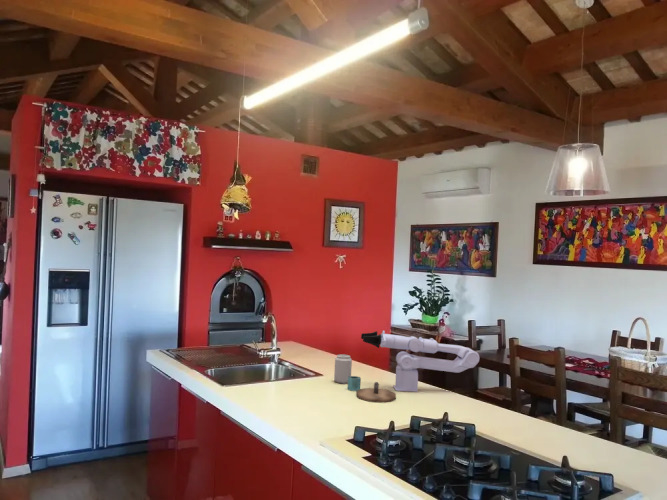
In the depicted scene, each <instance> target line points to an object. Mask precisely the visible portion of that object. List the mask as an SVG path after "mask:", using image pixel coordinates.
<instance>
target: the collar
mask: <svg viewBox="0 0 667 500" xmlns="http://www.w3.org/2000/svg"><path fill="white" fill-rule="evenodd" d="M361 381H362V378H361V376H357V375H351V376H349V377H348V383H347V390H348V391H351V392H357V390H359V389H361Z"/></svg>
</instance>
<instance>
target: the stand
mask: <svg viewBox="0 0 667 500" xmlns="http://www.w3.org/2000/svg"><path fill="white" fill-rule="evenodd" d="M379 385H380V384H379V382H378V381H375V382H374V383H373V387H368V388H367V387H366V388H360V389H359V390H357V391H355V392H356V393H355V394H356V395H355V397H356V398H358V399H359V400H362V401H365V402H370V403H389V402H394V401H395V400H396V398H397V397H396V396H397V394H396V392H394V391H392V390H388V389H384V388H379V387H380V386H379Z"/></svg>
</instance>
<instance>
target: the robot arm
mask: <svg viewBox="0 0 667 500" xmlns="http://www.w3.org/2000/svg"><path fill="white" fill-rule="evenodd" d="M360 339H361V340H362V342H364V343H365V344H369V345H372V346H374V347H375V348H378V349H379V348H380V347H381V348H388V349H395V350H396V349H398V350H401V351H400V352H398V353H397V354H396V356H395V361H396V363H397V365H396V367H395V382H394V384H395V385H394V384H393V385H392V387H393V388H394V390H395V391H396V392H419V391H418V388H419V387H418V386H419V371H418V369H425V370H432V371H440V372H443V371H444V372H448V373H449V372H450V373H456V374H457V373H461V372H464V371H466V370H469V369H473V368H475V367H476V366H477V365H478V363H479V362H480V354H479V353H478V352H477V351H476V350H473V349H472V348H471V347H467V346H466V347H465V346H463V345H458V344H448V343H447V344H446V343H438V341H437V340H435V339H434V338H432V337H430V338H423V337H421V336H419V338H417V337H415V336H413V335H411V336H404V335H397V334H389V333H386V332H385V330H382V332H381V333H380V334H378V331H376V330H375V331H373V332H365V333H361V337H360ZM402 350H405V351H402ZM406 350H408V351H411V352H415V353H418V352H419V353H420V352H421V353H427V354H428V353H429V354H435V353H437V352H442V353H450V354H455V355H457V356H456V358H455V359H454V360H452V359H451V360H449V359H442V358H435V357H427V356H418V355H416V354H410V353H409V352H407V351H406Z"/></svg>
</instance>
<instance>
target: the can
mask: <svg viewBox="0 0 667 500" xmlns="http://www.w3.org/2000/svg"><path fill="white" fill-rule="evenodd" d="M352 362H353V360H352V358H351V355H348V354H337V355H336V357H335V359H334V374H333V375H334V377H333V380H334V381H335V383H337V384H343V385H346V384H347V385H348V377H349V376H352V365H353V364H352Z"/></svg>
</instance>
